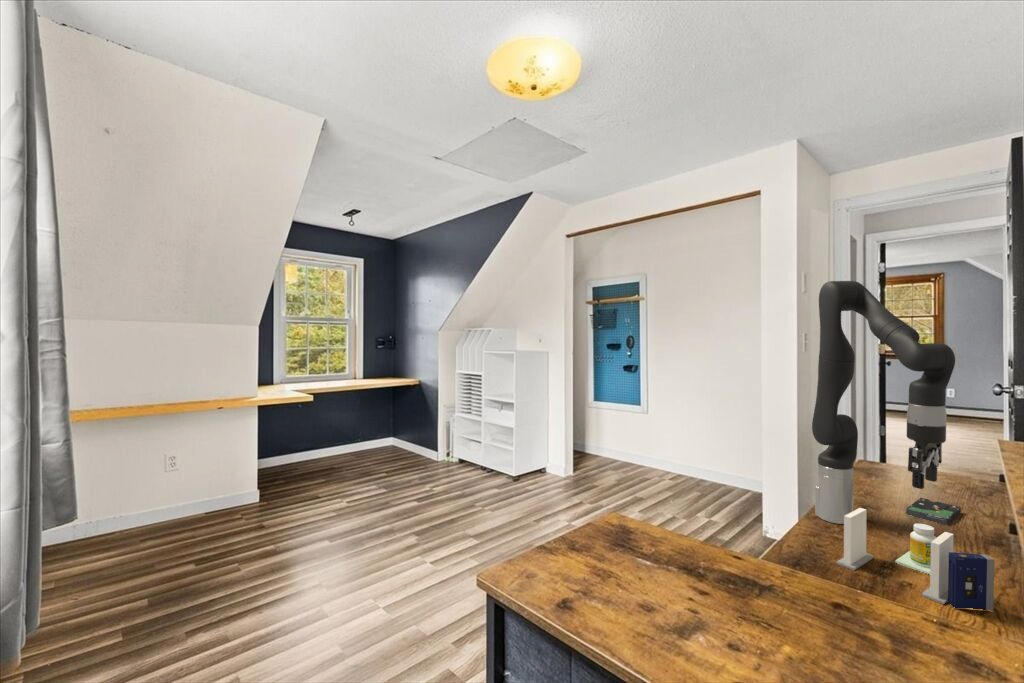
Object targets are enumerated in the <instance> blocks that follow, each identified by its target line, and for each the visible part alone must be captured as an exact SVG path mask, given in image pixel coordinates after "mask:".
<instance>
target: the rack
mask: <svg viewBox="0 0 1024 683" xmlns="http://www.w3.org/2000/svg"><path fill="white" fill-rule="evenodd" d="M954 536H955V535H954V533H951V532H947V531H944V532H943V533H941V534H940V535H938V536H937V537H936V539H934V540H933V541H932V542H931V564H930V575H929V576H930V577H929V578H930V579H929V580H930V582H929V584H930V585H929V587H928V588H927V589H926V590H924V591H923V592H921V595H922V596H924V597H926V598H925V599H927V598H929V599H928V600H930V599H931V600H930V601H932V600H934V601H933V602H935V601H936V602H935V603H937V602H939V603H938V604H940V603H941V604H940V605H943V604H945V603H946V604H948V567H949V552H954ZM872 559H874V555H872V554H869V553H867V509H866V508H862V507H858V508H856V509H855V510H853V512H851V513H849V514H847V515H845V516H844V524H843V557H841V558H840V559H838V560H837V561H836V564H837V565H839V566H841V567H843V568H847V569H849V570H852V571H856V570H857V569H859V568H860V567H862V566H863V565H865V564H866V563H868V562H869V561H871V560H872ZM922 596H921V597H922ZM924 597H923V598H924ZM946 604H945V605H946Z"/></svg>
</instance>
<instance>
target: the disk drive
mask: <svg viewBox="0 0 1024 683" xmlns="http://www.w3.org/2000/svg"><path fill="white" fill-rule="evenodd" d="M960 513H961V514H962V507H961V506H958V505H953V504H949V503H945V502H941V501H931V500H930V499H928V498H924V497H920V498H918V499H917V500H916V501H914V502H913V503H912V504H910V505H909V506H907V507H906V508H905V515H906V514H908V515H912V516H915V517H914V518H916V517H918V518H917V519H919V518H922V519H921V520H923V519H925V520H924V521H927V520H929V521H928V522H931V521H933V522H932V523H935V522H937V523H936V524H939V523H940V525H943V526H946V525H947V526H949V525H950V524H951V523H952V522H954V521H955V520H956V518H958V517H959V516H960V515H961V514H960ZM908 515H907V516H908ZM958 515H959V516H958ZM912 516H911V517H912ZM957 516H958V517H957Z"/></svg>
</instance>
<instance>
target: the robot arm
mask: <svg viewBox="0 0 1024 683" xmlns="http://www.w3.org/2000/svg"><path fill="white" fill-rule="evenodd" d="M818 310H819V312H818V313H819V316H818V317H819V353H818V354H819V355H818V363H817V365H818V367H817V368H818V369H817V371H818V372H817V387H816V398H815V405H814V409H813V410H814V411H813V417H812V423H811V424H812V425H811V429H812V430H811V431H812V435H813V438H814V439H815V441H816V442H817V443H818V444H820V445H821V446H827V448H826V449H825V450H823V451H822V452H820V453H819V454H818V456H817V485H816V486H815V487H814V503H815V504H814V515H816V517H818V518H819V519H822V520H823V521H826V522H828V523H832V524H833V523H834V524H839V525H844V516H845V515H847V514H849V513H851V512H853V511H854V463H855V461H856V459H857V454H858V440H859V432H858V427H857V424H856V422H855V420H854V419H853V418H852V417H851V416H849V415H846V414H843V413H842V414H840V413H839V414H838V408H839V405H840V401H841V399H842V397H843V396H844V394H845V393H846V390H847V389H848V388H849V385H850V384H851V382H852V380H853V378H854V374H855V361H856V356H855V351H854V349H853V347H852V345H851V343H850V341H849V340H848V338H847V336H846V335H845V333H844V331H843V328H842V327H843V326H842V312H851V311H852V312H855V313H857V314H860V315H861V316H862V317H864V318H865V319H866V321H867V323H868V327H869V329H870V332H871V333H872V334H873V336H875V337H876V338H877V339H879V340H878V341H881V343H883V344H885V345H886V346H888V347H889V348H890V349H891V351H892V352H893V354H894V356H895V357H896V358H897V359H898V361H899V362H900V364H902V366H904V367H905V368H906V369H909V370H911V371H913V372H918V373H919V372H923V373H922V375H921V377H920V378H918V379H916V380H913V381H911V382H910V383H909V386H908V405H907V410H906V437H907V439H908V440H911V441H913V442H915V444H914V446H913V447H909V448H908V459H907V471H908V472H911V473H912V474H911V475H912V477H911V478H912V479H911V480H912V481H911V483H912V484H911V485H912V487H913V488H914V489H919V490H923V489H925V480H926V481H929V482H934V483H935V482H937V481H938V468H939V467H940V464H942V463H943V459H942V456H943V455H942V453H943V452H942V451H943V450H942V447H943V446H942V445H943V444H944V443H946V441H947V409H946V402H947V401H946V400H947V399H946V397H947V396H946V394H947V393H946V391H947V387H948V385H949V383H950V380H951V377H952V374H953V371H954V368H955V366H956V355H955V353H954V350H953V349H952V348H951V347H950V346H949V345H947V344H945V343H942V342H941V343H940V342H930V343H920V342H919V341H920V339H921V338H920V334H919V332H918V331H917V330H916V329H915V328H914V327H912V326H910V325H909V324H908V323H906V322H905V321H904V320H902V319H900V318H899V317H897V316H896V315H895V314H893V313H892V311H891V312H890V310H889V309H887V308H886V307H885V306H884V305H883V304H882V303H881V302H880V301H879V299H877V297H876V296H874V294H872V293H871V291H870V290H869V289H868V288H867V287H866V286H865V285H863V284H862V283H860V282H858V281H855V280H830V281H826V282H825V283H824V284H823V285H822V286H821V288H820V290H819V294H818Z"/></svg>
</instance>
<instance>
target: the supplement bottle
mask: <svg viewBox="0 0 1024 683" xmlns="http://www.w3.org/2000/svg"><path fill="white" fill-rule="evenodd" d="M936 538H937V537H936V536H935V527H933V526H931V525H928V524H924V523H914V524H913V531H912V532H910V534H909V544H910V545H909V546H910V547H909V549H910V550H909V551H910V559H911V561H912V562H913V563H915V564H917V565H920V566H923V567H928V568H930V564H931V542H932V541H933V540H934V539H936Z"/></svg>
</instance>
